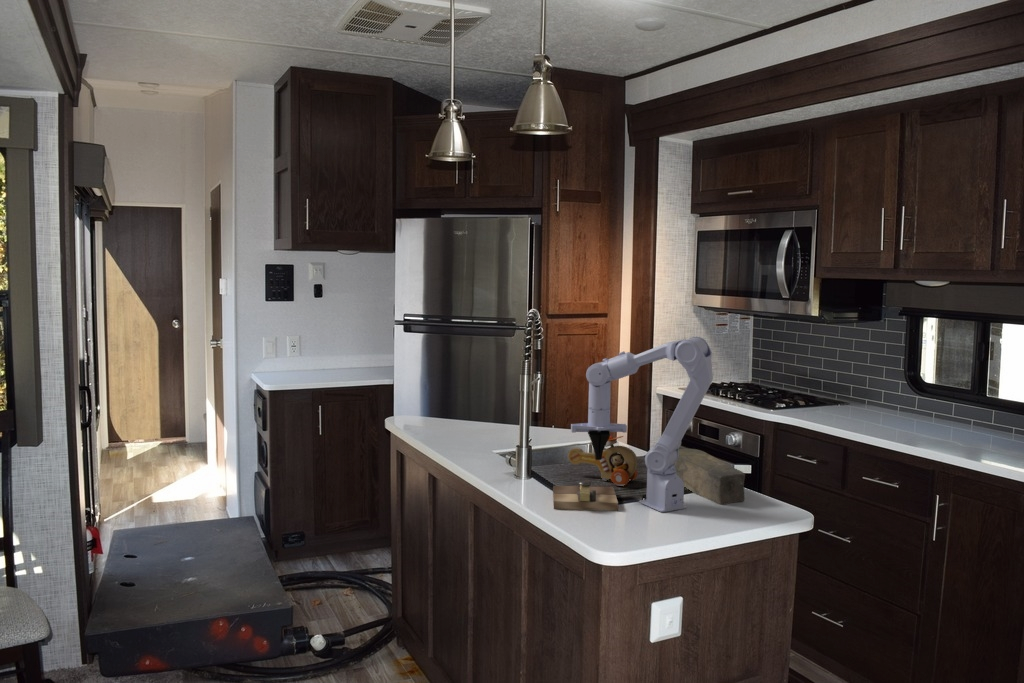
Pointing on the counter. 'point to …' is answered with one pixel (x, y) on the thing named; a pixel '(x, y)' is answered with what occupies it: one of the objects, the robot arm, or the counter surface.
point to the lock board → (571, 500)
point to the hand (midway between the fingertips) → (598, 458)
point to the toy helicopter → (609, 461)
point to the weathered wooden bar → (710, 477)
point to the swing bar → (584, 490)
